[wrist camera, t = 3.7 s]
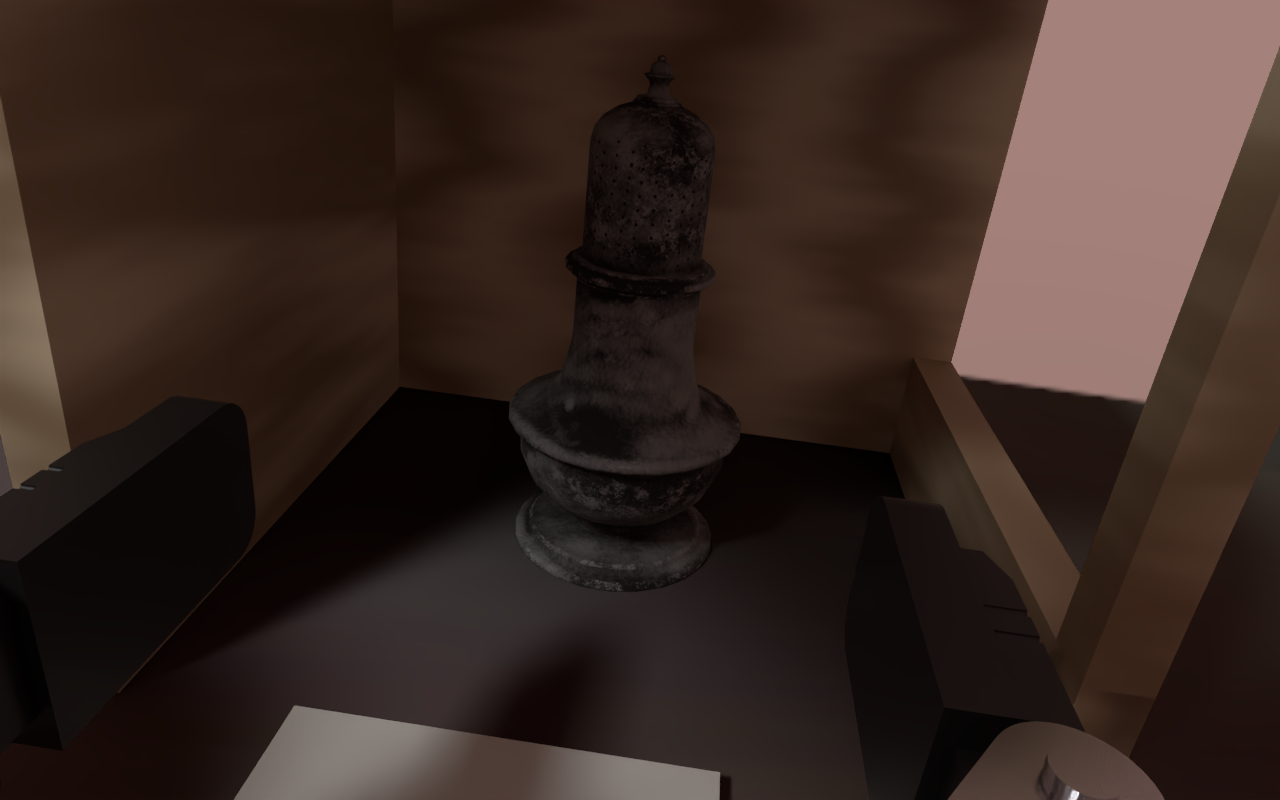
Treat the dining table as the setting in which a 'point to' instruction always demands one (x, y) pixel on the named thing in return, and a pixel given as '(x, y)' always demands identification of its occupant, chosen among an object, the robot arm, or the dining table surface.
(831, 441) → the hutch
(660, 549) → the salt shaker
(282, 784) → the mat
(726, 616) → the dining table surface
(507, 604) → the dining table surface
